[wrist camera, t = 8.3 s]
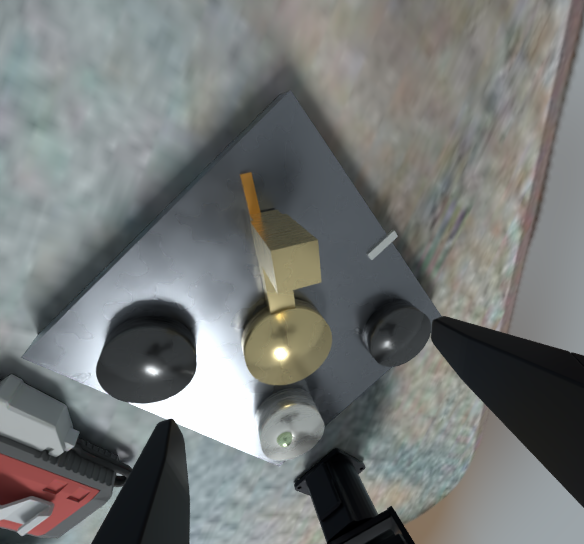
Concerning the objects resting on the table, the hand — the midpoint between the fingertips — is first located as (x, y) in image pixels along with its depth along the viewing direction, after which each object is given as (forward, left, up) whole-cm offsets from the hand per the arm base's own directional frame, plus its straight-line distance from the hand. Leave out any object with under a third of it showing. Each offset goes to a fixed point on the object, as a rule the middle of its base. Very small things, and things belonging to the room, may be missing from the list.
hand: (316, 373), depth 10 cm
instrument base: (-6, +3, -12) cm, 13 cm away
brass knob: (-3, +1, -9) cm, 10 cm away
